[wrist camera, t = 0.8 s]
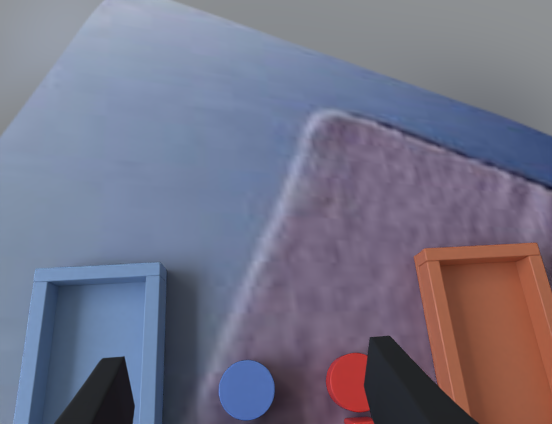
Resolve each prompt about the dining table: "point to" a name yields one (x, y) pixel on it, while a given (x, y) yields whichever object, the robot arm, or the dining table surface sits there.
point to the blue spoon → (246, 390)
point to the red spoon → (349, 385)
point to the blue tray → (93, 336)
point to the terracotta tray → (490, 329)
